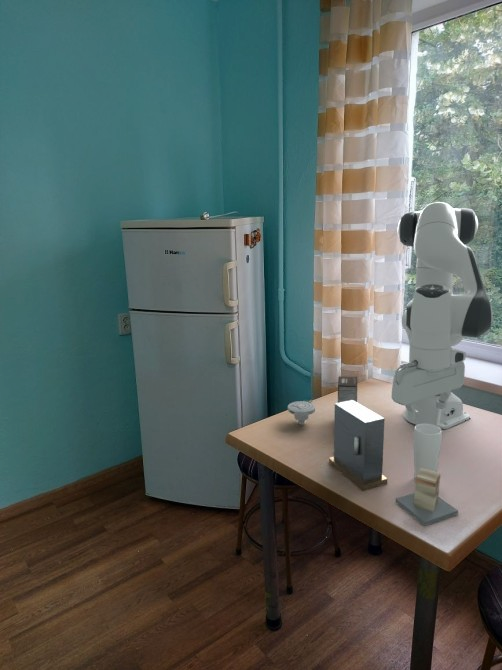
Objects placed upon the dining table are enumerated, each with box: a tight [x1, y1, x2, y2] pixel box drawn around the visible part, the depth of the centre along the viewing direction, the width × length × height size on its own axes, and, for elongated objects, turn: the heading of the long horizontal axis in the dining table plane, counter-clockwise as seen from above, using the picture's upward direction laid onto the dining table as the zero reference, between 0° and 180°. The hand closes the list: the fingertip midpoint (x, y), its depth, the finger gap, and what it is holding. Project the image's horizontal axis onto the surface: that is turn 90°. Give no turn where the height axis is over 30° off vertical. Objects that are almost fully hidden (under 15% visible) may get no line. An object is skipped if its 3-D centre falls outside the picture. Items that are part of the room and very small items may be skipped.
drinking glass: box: [413, 424, 443, 479], centre depth 121 cm, size 7×7×15 cm
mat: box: [395, 492, 459, 526], centre depth 111 cm, size 10×10×1 cm
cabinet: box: [328, 400, 388, 492], centre depth 125 cm, size 8×16×18 cm, turn 23°
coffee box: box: [337, 376, 358, 403], centre depth 156 cm, size 9×6×16 cm
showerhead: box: [287, 399, 316, 425], centre depth 159 cm, size 9×7×10 cm
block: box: [414, 468, 441, 512], centre depth 110 cm, size 5×5×8 cm
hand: (427, 412), depth 108 cm, fingers open, 8 cm apart
